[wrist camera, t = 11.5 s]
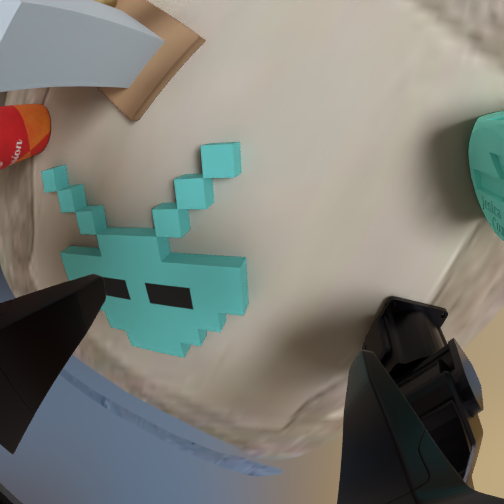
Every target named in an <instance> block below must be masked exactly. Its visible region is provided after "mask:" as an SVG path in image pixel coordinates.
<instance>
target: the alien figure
mask: <svg viewBox="0 0 504 504" xmlns="http://www.w3.org/2000/svg"><path fill="white" fill-rule="evenodd" d="M201 159H202V171H203V174H185V175H182V176H180V177H178V178H176V179H174V185H175V193H176V202H177V203H162V204H160V205H158V206H157V207H155V208H154V209H152V214H153V220H154V226H155V228H111V227H107V223H106V218H105V213H104V208H103V205H95V206H87V203H86V198H85V192H84V186H83V184H79V185H72V186H69V183H68V177H67V170H66V165H61V166H57V167H53V168H50V169H47V170H44V171H42V172H41V174H42V180H43V185H44V191H45V193H47V192H53V191H57V194H58V199H59V204H60V208H61V213H66V212H75V213H76V218H77V222H78V226H79V230H80V234H89V235H96V236H97V240H98V244H99V248H93V247H78V246H69V247H68V248H66V249H65V250H63V251H62V252H60V255H61V258H62V261H63V264H64V267H65V270H66V273H67V276H68V279H69V281H71V280H74V279H77V278H80V277H84V276H87V275H90V274H97V275H99V276H102V277H103V279H104V283H105V289H106V300H105V302H104V304H103V306H102V307H101V309H100V310H102V311H105V314H106V316H107V319H108V321H109V324H110V326H111V327H113V328H117V329H121V330H125V331H126V332H127V335H128V338H129V340H130V343H131V345H132V346H135V347H139V348H143V349H147V350H151V351H156V352H160V353H164V354H169V355H174V356H178V357H183V358H184V357H185V356H186V354H187V352H188V350H189V348H190V344H191V345H197V346H201V345H202V343H203V341H204V339H205V337H206V335H207V332H206V330H208V331H215V332H221V330H222V328H223V326H224V324H225V322H226V315H225V314H234V315H244V314H245V311H246V308H247V306H248V286H247V269H246V257H233V256H217V255H201V254H185V253H170V247H169V241H168V237H176V238H182V237H183V236H184V235H185V234H186V233H187V232H188V231H189V230H190V221H189V213H188V209H207V208H208V207H209V206H210V205H212V204H213V203H214V195H213V182H212V178H230V177H236V176H238V175H239V174H240V173H241V154H240V142H228V143H211V144H206V145H202V146H201Z"/></svg>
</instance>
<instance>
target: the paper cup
mask: <svg viewBox="0 0 504 504" xmlns="http://www.w3.org/2000/svg"><path fill="white" fill-rule="evenodd" d="M50 133H51V120H50V115H49V112H48V110H47V108H46V107H45V106H43V105H41V104H25V105H11V106H1V107H0V170H1V169H3V168H5V167H7V166H10V165H12V164H14V163H17V162H19V161H21V160H24V159H26V158H29V157H31V156H34V155H36V154H38V153H40V152H42V151H43V150H44V149H45V148H46V146H47V144H48V141H49V138H50Z"/></svg>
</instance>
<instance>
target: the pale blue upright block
mask: <svg viewBox="0 0 504 504" xmlns="http://www.w3.org/2000/svg"><path fill="white" fill-rule="evenodd" d="M164 42H165V41H164V40H163V39H162V38H160V37H159V36H158V35H156V34H155V33H154V32H152V31H151V30H149V29H148V28H147V27H145V26H144V25H142V24H141V23H139V22H138V21H137V20H135V19H134V18H132V17H131V16H129V15H128V14H126V13H125V12H123V11H121V10H119V9H116V8H113V7H111V6H108V5H105V4H102V3H99V2H96V1H93V0H0V92H2V91H11V90H19V89H30V88H43V87H65V86H96V87H120V88H129V87H130V85H131V84H132V83H133V81H134V80H135V78H136V77H137V76H138V74H139V73H140V72H141V71H142V69H143V68H144V67H145V65H146V64H147V63H148V62H149V60H150V59H151V58H152V57H153V55H154V54H155V53H156V52H157V51H158V49H159V48H160V47H161V46H162V45H163V44H164Z"/></svg>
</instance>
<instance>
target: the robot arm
mask: <svg viewBox="0 0 504 504" xmlns="http://www.w3.org/2000/svg"><path fill="white" fill-rule="evenodd" d="M105 300H106V289H105V283H104V279H103V277H102V276H99V275H97V274H90V275H87V276H84V277H80V278H77V279H74V280H71V281H68V282H64V283H61V284H58V285H55V286H52V287H49V288H45V289H42V290H39V291H36V292H33V293H30V294H27V295H24V296H21V297H18V298H15V299H13V300H9V301H6V302H3V303H0V444H1V445H2V446H3V447H4V448H5V449H6V450H8V451H9V452H10V453H11V454H14V452H15V450H16V448H17V446H18V444H19V443H20V441H21V439H22V437H23V435H24V433H25V431H26V429H27V427H28V426H29V424H30V422H31V420H32V418H33V417H34V414H35V413H36V411H37V409H38V408H39V406H40V404H41V403H42V401H43V399H44V397H45V396H46V394H47V392H48V391H49V389H50V387H51V386H52V384H53V383H54V381H55V380H56V378H57V376H58V375H59V373H60V372H61V370H62V369H63V367H64V366H65V364H66V363H67V361H68V360H69V358H70V357H71V355H72V354H73V352H74V351H75V349H76V348H77V346H78V345H79V343H80V342H81V340H82V339H83V338H84V336H85V335H86V333H87V331H88V330H89V328H90V326H91V325H92V323H93V321H94V319H95V318H96V316H97V314H98V312H99V311H100V309H101V307H102V306H103V304H104V302H105ZM392 302H395V303H394V304H391V303H392ZM443 313H444V314H443ZM442 314H443V315H442ZM447 316H448V312H447V311H446V309H444V308H440V307H435V306H431V305H427V304H423V303H419V302H414V301H410V300H406V299H402V298H398V297H391V298H389V299H388V301H387V303H386V305H385V307H384V309H383V311H382V312H381V314H380V316H379V317H378V318H377V319H376V320H375V322H374V324H373V326H372V328H371V329H370V331H369V333H368V335H367V337H366V342H365V344H364V345H363V347H362V350H361V351H360V352H359V353H358V355H357V357H356V358H355V360H354V362H353V363H352V365H351V367H350V370H349V376H348V385H347V392H346V400H345V407H344V420H343V443H342V459H341V472H340V482H339V492H338V500H337V504H504V499H503V498H499V497H495V496H491V495H487V494H484V493H480V492H477V491H475V490H474V486H473V481H472V473H473V470H474V467H475V463H476V460H477V457H478V453H479V449H480V445H481V441H482V437H483V429H482V426H481V423H480V420H479V417H478V413H479V412H481V411H482V410H483V398H482V390H481V384H480V382H479V379H478V377H477V375H476V372H475V370H474V368H473V366H472V364H471V362H470V361H469V359H468V358H467V356H466V355H465V353H464V352H463V350H462V349H461V347H460V346H459V345H458V343H457V342H456V340H455V339H454V338H453V339H451V340H450V341H449V342H448V344H447V342H446V340H445V337H444V335H443V333H442V330H441V328H440V327H441V326H442V324H443V323H444V321H445V319H446V318H447ZM366 349H367V350H366ZM0 504H23V503H21V502H20V501H19V500H18V499H17V498H16V497H15V496H14V495H13V494H12V493H10V492H9V491H8V490H7V489H6V488H5V487H4V486H3V485H2V484H1V483H0Z"/></svg>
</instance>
